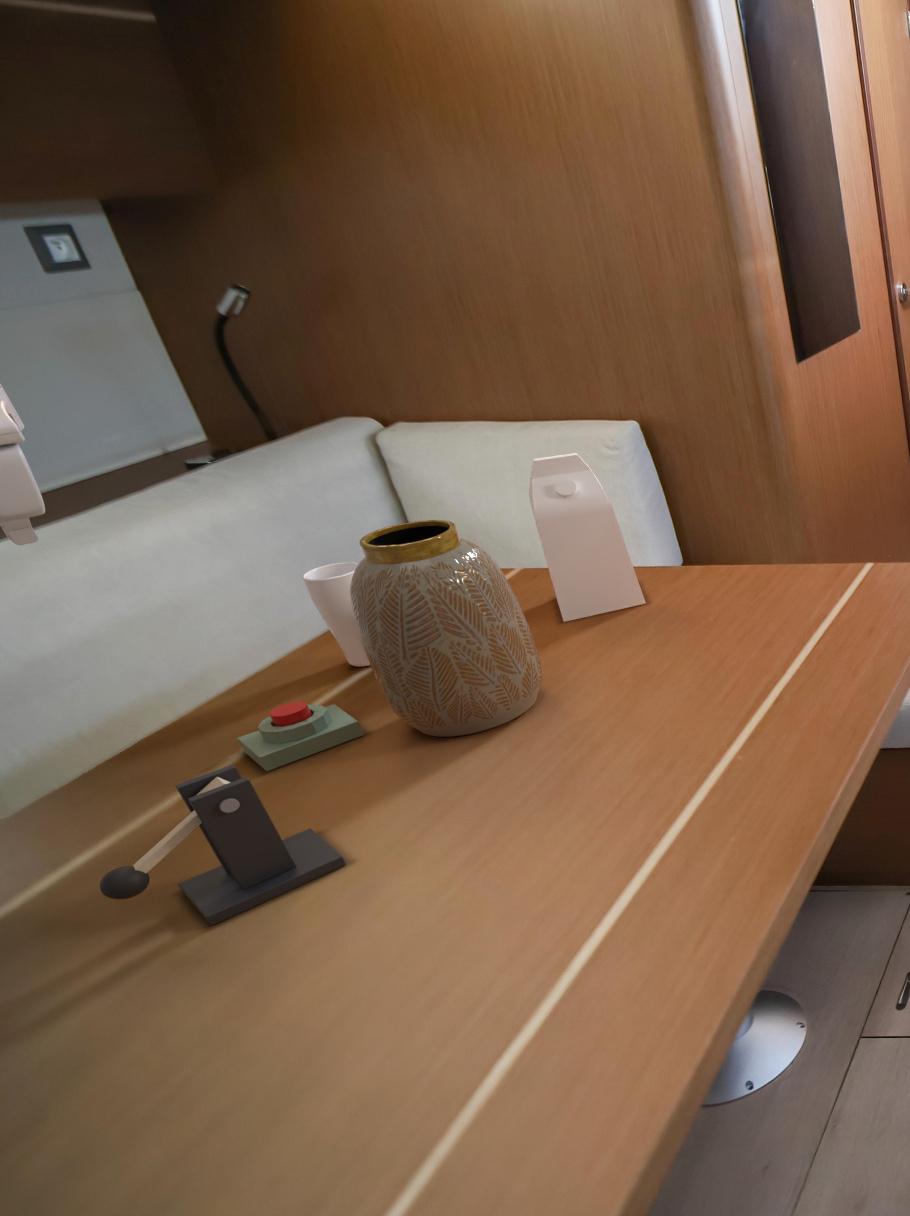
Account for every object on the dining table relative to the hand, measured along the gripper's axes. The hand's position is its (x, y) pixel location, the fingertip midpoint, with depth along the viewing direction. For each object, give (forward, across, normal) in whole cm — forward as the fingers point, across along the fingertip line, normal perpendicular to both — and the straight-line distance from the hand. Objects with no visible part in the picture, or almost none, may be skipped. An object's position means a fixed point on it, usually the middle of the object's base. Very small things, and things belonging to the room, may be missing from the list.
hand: (25, 541), depth 107 cm
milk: (+31, -5, +56) cm, 64 cm away
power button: (+28, +8, +12) cm, 31 cm away
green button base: (+31, +8, +12) cm, 34 cm away
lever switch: (+24, +37, -4) cm, 44 cm away
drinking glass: (+31, -12, +26) cm, 42 cm away
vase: (+31, +18, +28) cm, 46 cm away
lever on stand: (+31, +37, 0) cm, 48 cm away
